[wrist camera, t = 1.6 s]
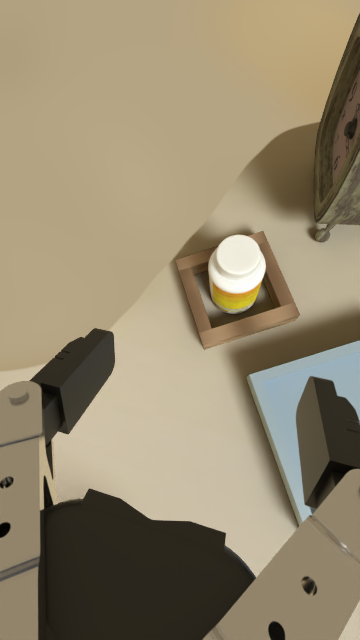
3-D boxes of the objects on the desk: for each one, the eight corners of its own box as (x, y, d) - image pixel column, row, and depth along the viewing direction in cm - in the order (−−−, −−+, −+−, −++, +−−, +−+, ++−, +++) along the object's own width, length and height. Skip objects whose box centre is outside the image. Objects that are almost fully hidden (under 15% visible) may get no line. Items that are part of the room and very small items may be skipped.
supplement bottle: (263, 307, 35) (279, 272, 25) (218, 320, 35) (217, 290, 25) (248, 267, 37) (258, 218, 27) (205, 280, 37) (199, 236, 27)
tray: (384, 334, 32) (406, 325, 28) (466, 491, 28) (506, 505, 24) (245, 377, 33) (249, 374, 29) (303, 537, 28) (315, 558, 25)
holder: (260, 241, 37) (262, 230, 35) (294, 320, 34) (300, 314, 32) (178, 268, 38) (175, 260, 35) (204, 349, 35) (203, 345, 32)
